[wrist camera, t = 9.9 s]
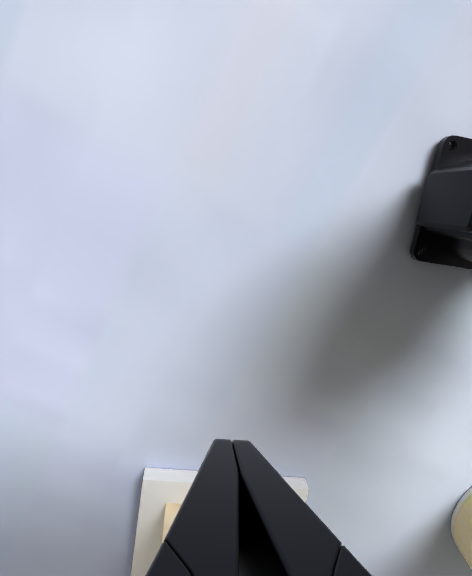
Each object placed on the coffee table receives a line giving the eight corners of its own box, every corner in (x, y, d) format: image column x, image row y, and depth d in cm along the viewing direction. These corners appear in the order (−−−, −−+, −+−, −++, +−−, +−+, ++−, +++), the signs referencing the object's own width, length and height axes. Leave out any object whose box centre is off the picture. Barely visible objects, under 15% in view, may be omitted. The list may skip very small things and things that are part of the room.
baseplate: (304, 477, 24) (308, 489, 23) (274, 599, 26) (277, 614, 25) (145, 467, 22) (142, 479, 21) (128, 596, 25) (125, 613, 24)
